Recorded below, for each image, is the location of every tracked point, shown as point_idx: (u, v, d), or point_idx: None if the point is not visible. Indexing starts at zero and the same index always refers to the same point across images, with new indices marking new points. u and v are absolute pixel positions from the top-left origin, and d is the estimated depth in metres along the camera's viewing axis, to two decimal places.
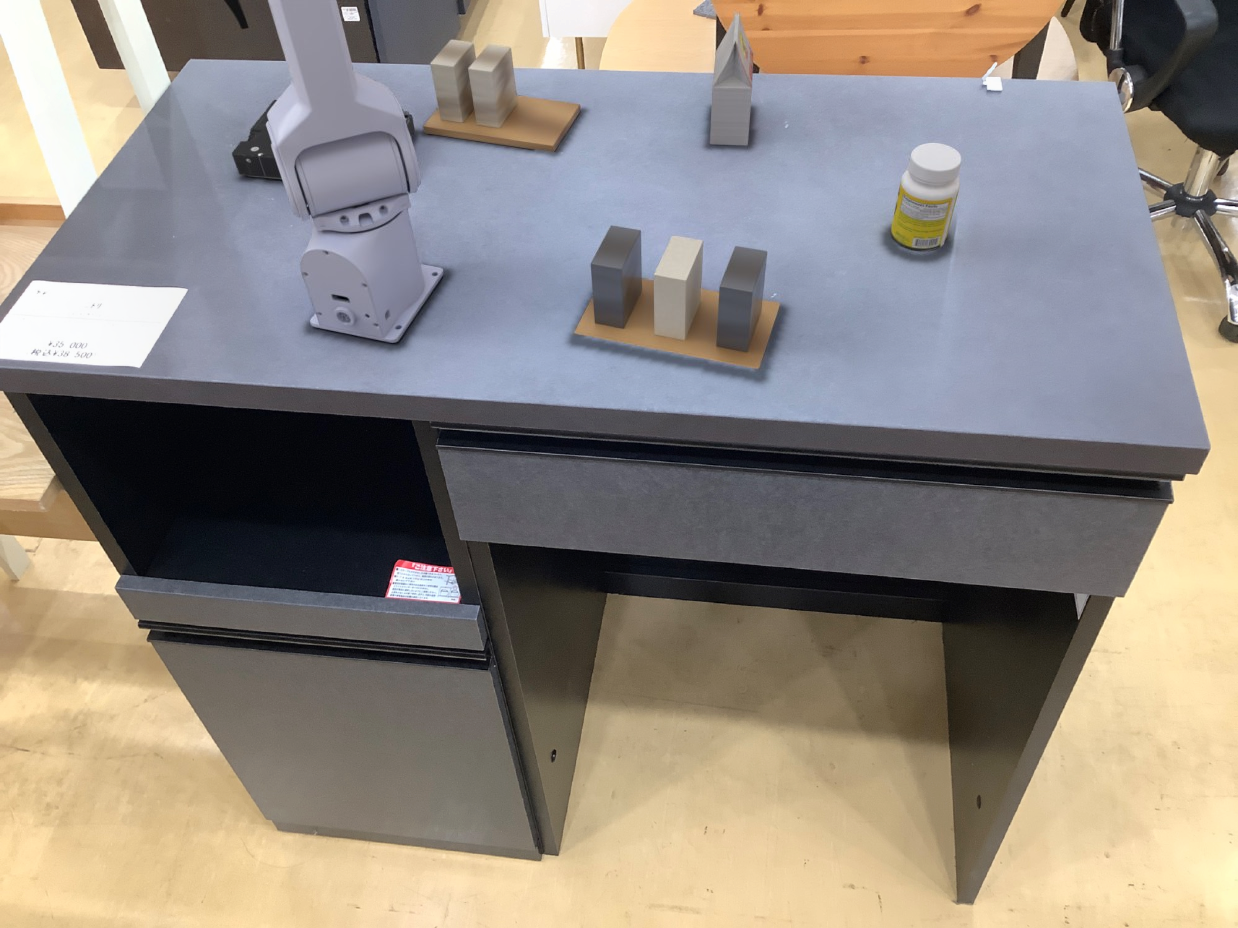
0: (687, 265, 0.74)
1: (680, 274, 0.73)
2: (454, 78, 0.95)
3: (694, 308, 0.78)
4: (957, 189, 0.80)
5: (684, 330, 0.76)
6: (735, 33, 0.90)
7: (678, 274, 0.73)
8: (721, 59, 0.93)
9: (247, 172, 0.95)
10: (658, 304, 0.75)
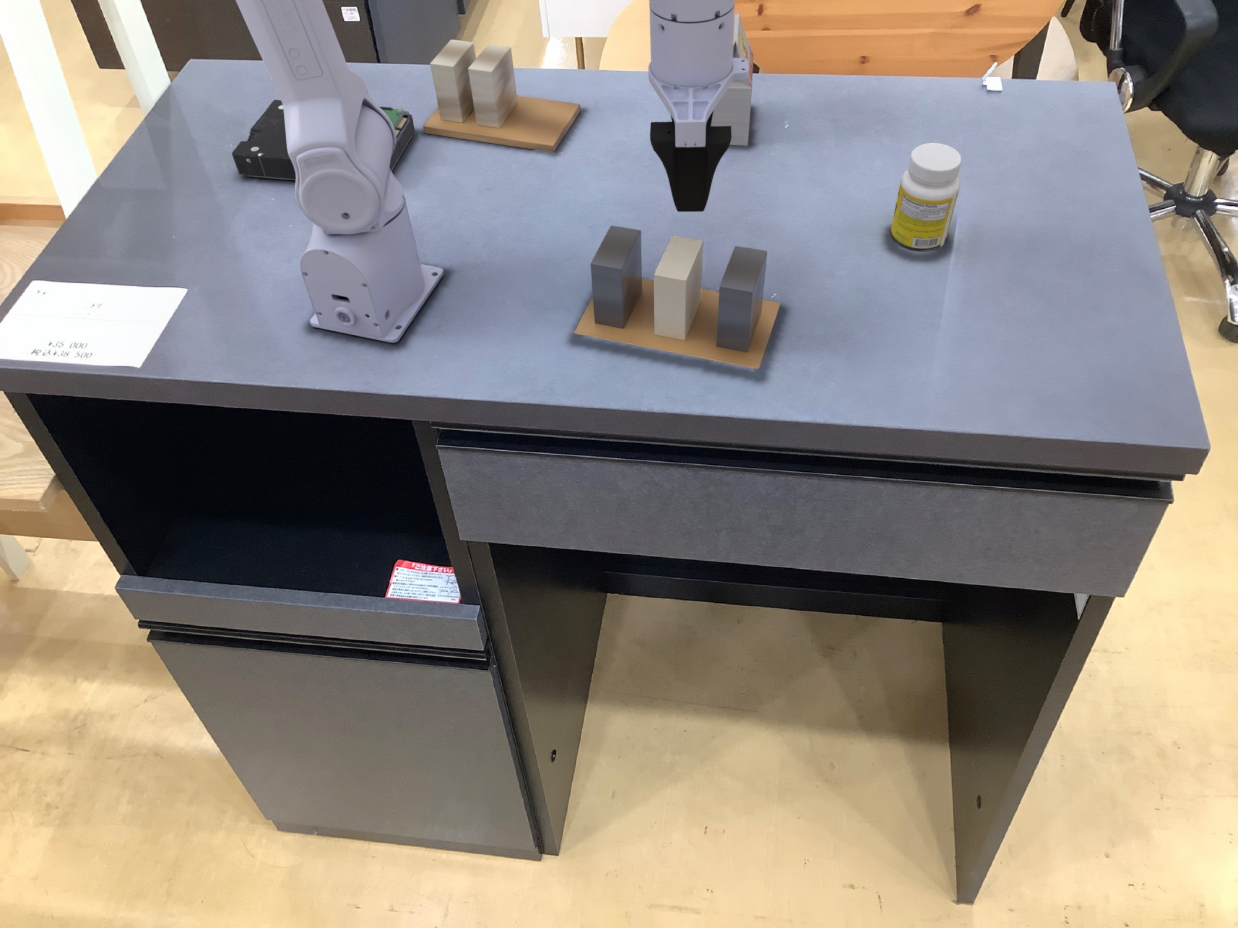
0: (687, 265, 0.74)
1: (680, 274, 0.73)
2: (454, 78, 0.95)
3: (694, 308, 0.78)
4: (957, 189, 0.80)
5: (684, 330, 0.76)
6: (735, 33, 0.90)
7: (678, 274, 0.73)
8: None
9: (247, 172, 0.95)
10: (658, 304, 0.75)
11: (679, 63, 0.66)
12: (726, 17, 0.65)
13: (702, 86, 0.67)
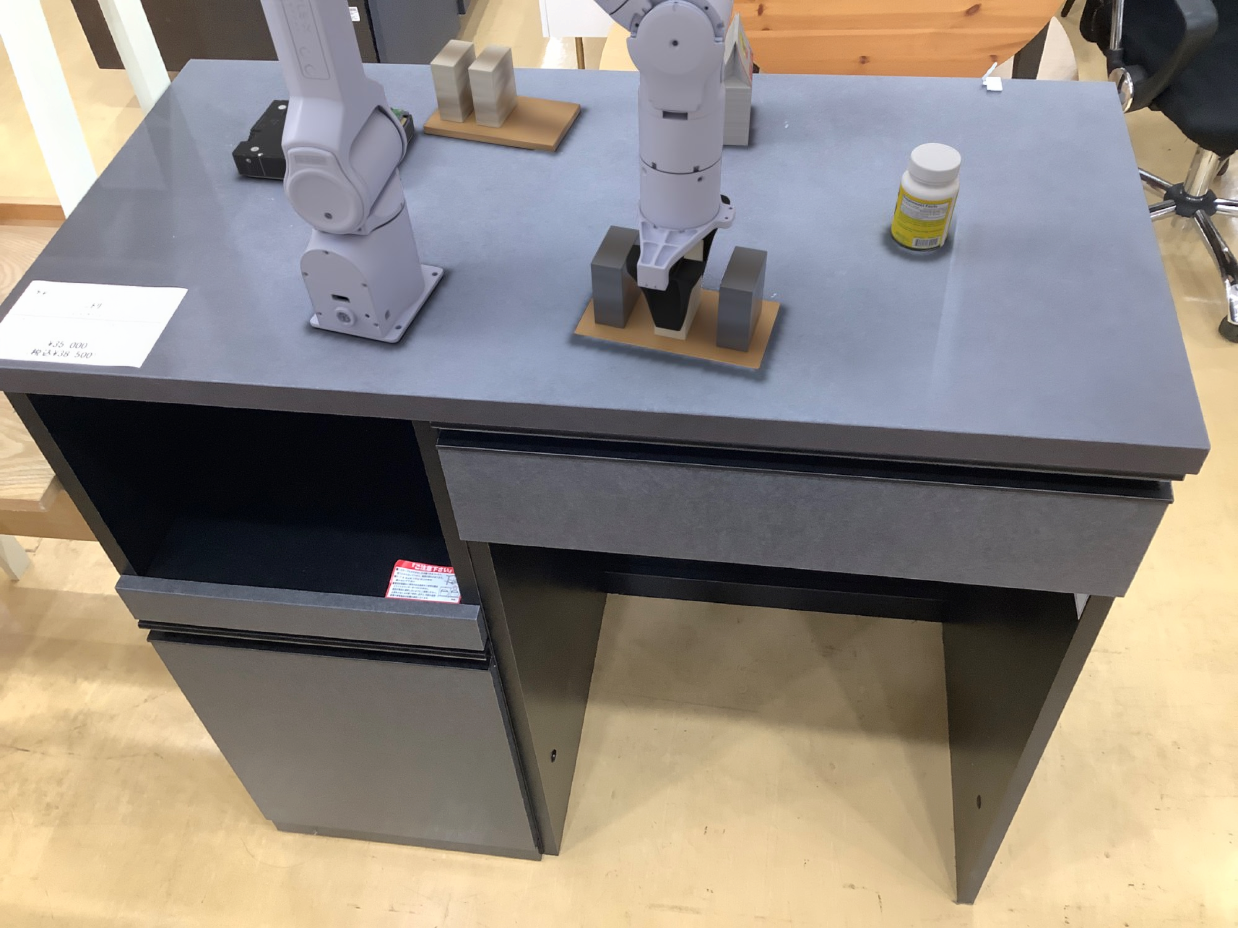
0: None
1: None
2: (454, 78, 0.95)
3: (694, 308, 0.78)
4: (957, 189, 0.80)
5: (684, 330, 0.76)
6: (735, 33, 0.90)
7: None
8: None
9: (247, 172, 0.95)
10: None
11: (658, 205, 0.68)
12: (706, 171, 0.66)
13: (679, 229, 0.69)
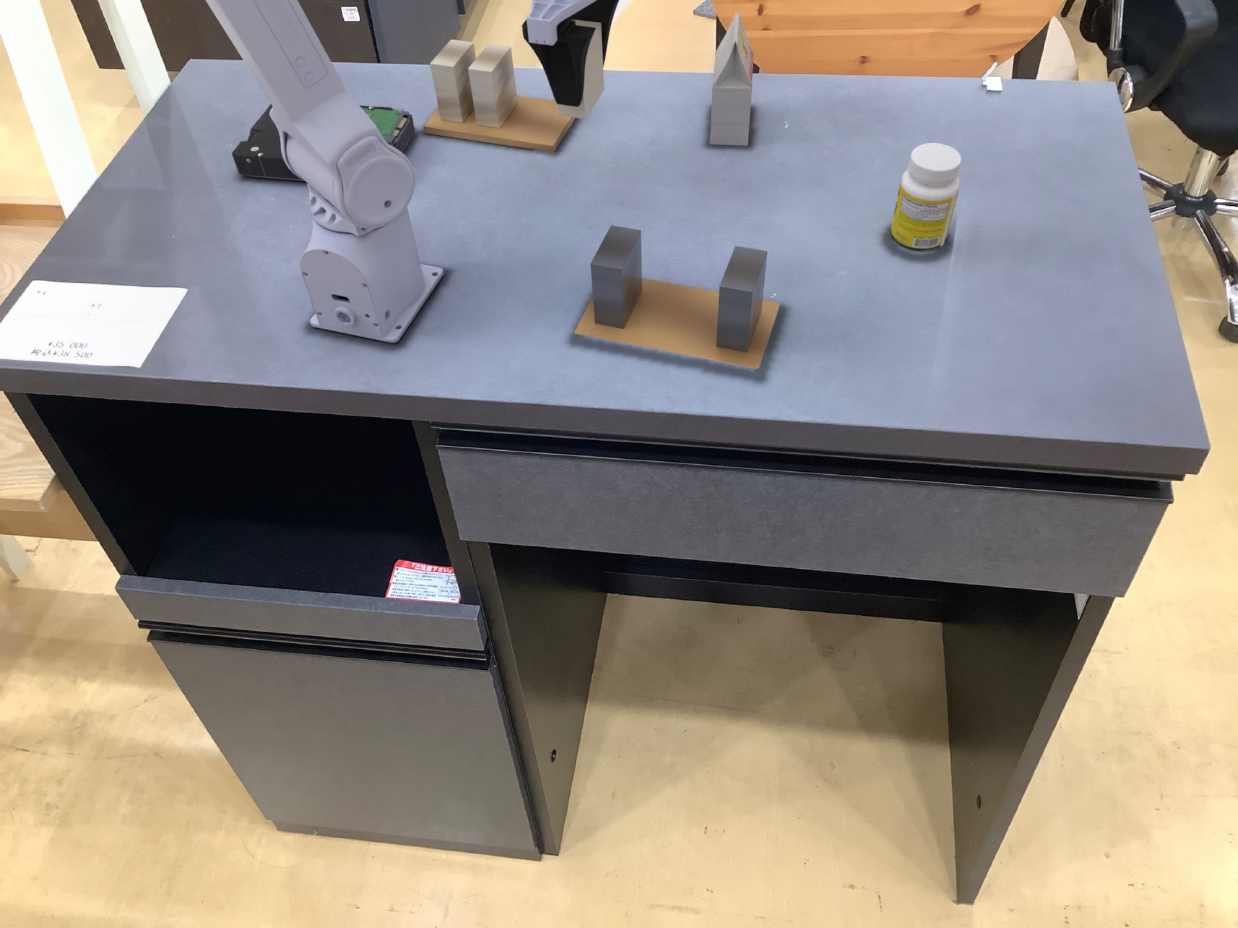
0: None
1: None
2: (454, 78, 0.95)
3: (595, 92, 0.85)
4: (957, 189, 0.80)
5: (584, 107, 0.83)
6: (735, 33, 0.90)
7: None
8: (721, 59, 0.93)
9: (247, 172, 0.95)
10: None
11: None
12: None
13: None
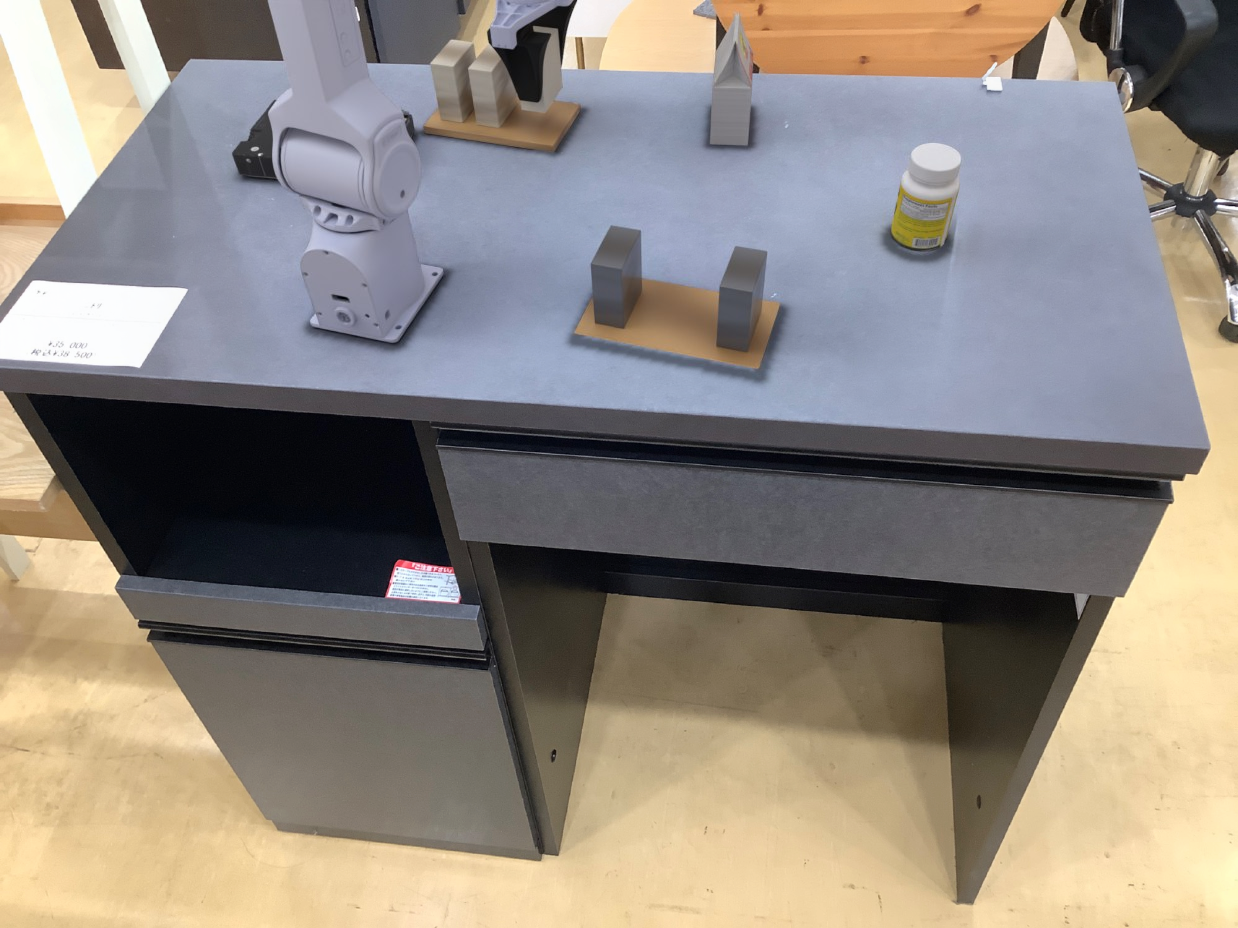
0: None
1: None
2: (454, 78, 0.95)
3: (554, 89, 0.96)
4: (957, 189, 0.80)
5: (543, 103, 0.94)
6: (735, 33, 0.90)
7: None
8: (721, 59, 0.93)
9: (247, 172, 0.95)
10: None
11: None
12: None
13: (527, 4, 0.87)
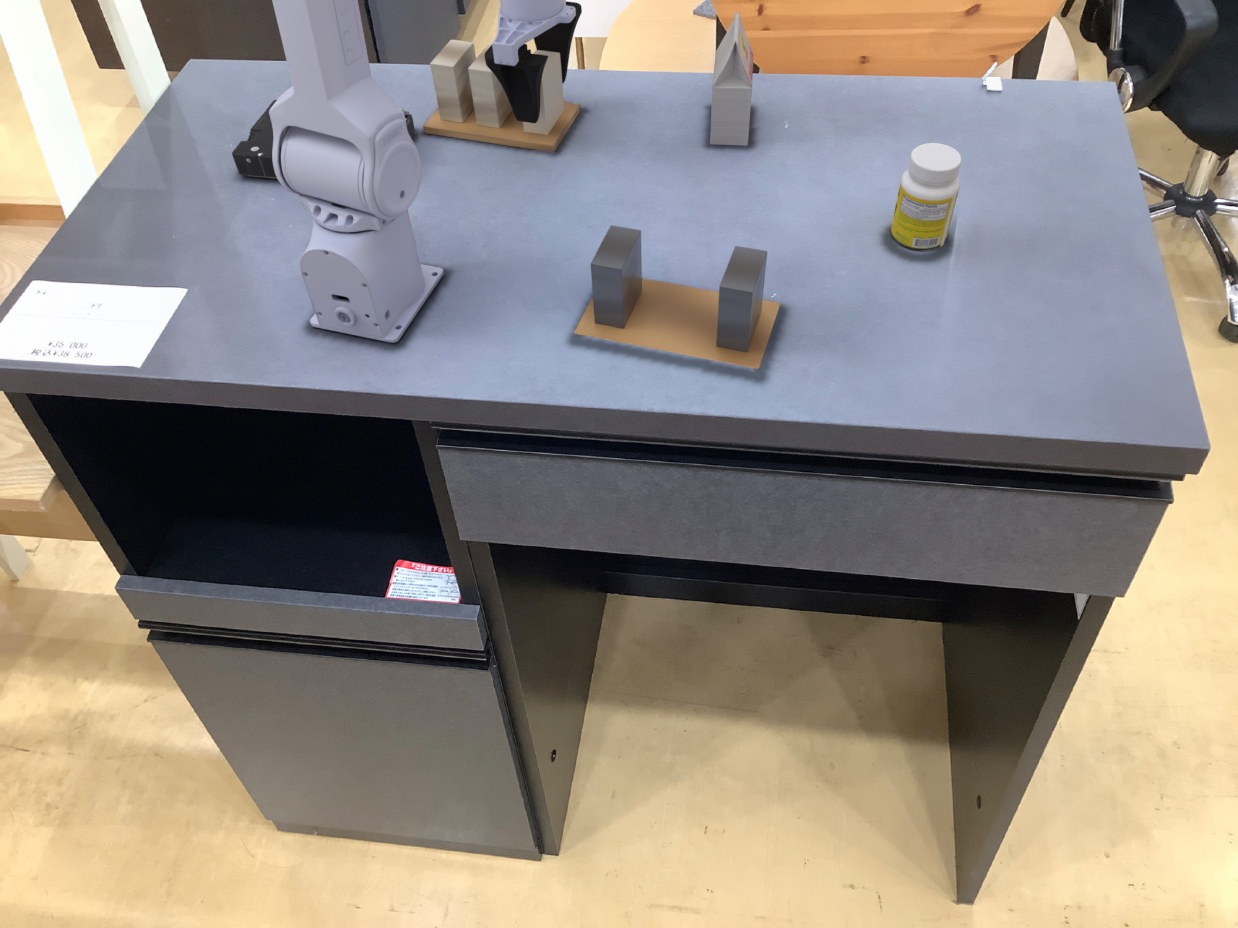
0: (544, 68, 0.94)
1: None
2: (454, 78, 0.95)
3: (556, 112, 0.98)
4: (957, 189, 0.80)
5: (546, 125, 0.96)
6: (735, 33, 0.90)
7: None
8: (721, 59, 0.93)
9: (247, 172, 0.95)
10: None
11: (510, 1, 0.87)
12: None
13: (528, 21, 0.88)
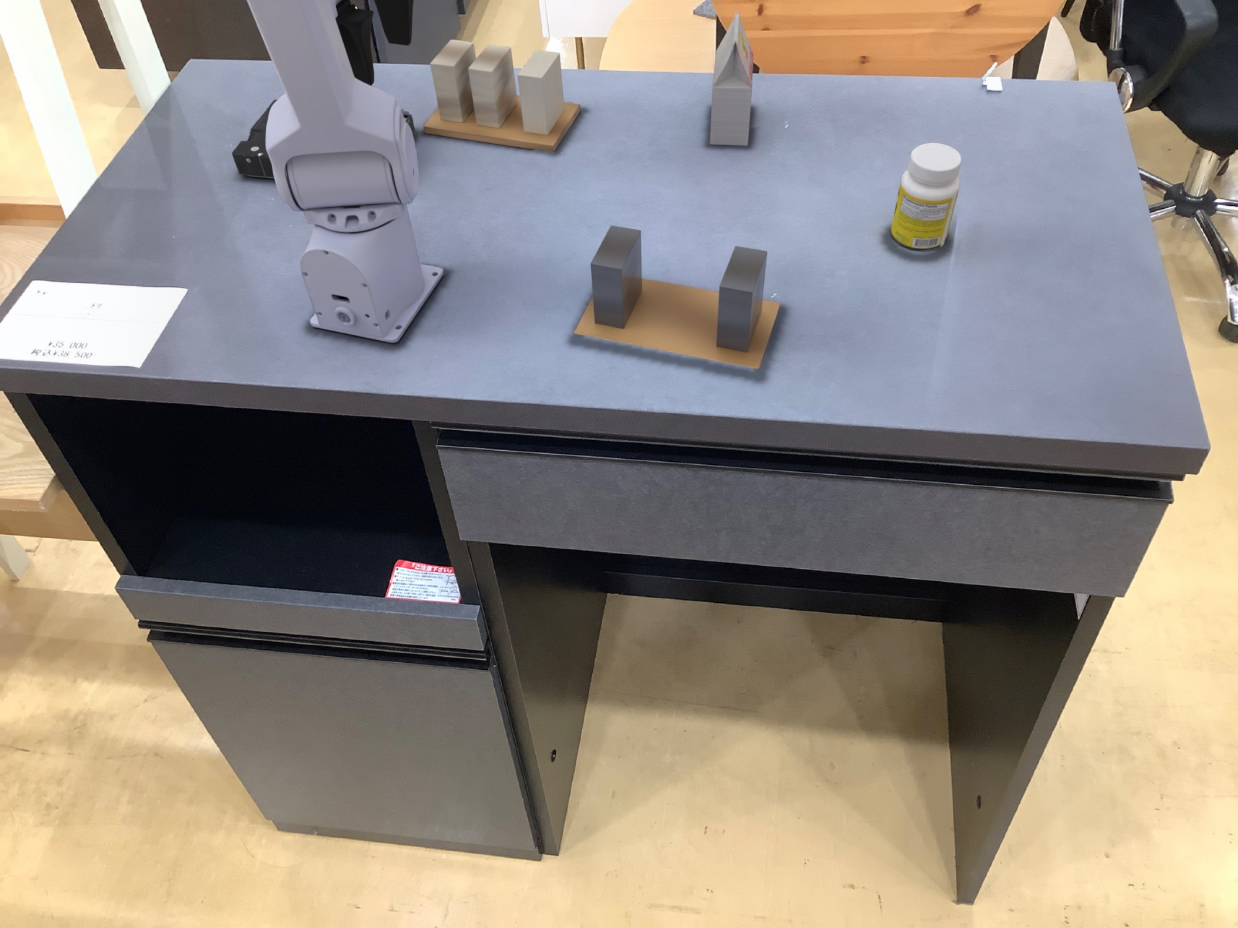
0: (544, 68, 0.94)
1: (537, 74, 0.93)
2: (454, 78, 0.95)
3: (556, 112, 0.98)
4: (957, 189, 0.80)
5: (546, 125, 0.96)
6: (735, 33, 0.90)
7: (536, 74, 0.93)
8: (721, 59, 0.93)
9: (247, 172, 0.95)
10: (523, 102, 0.95)
11: None
12: None
13: None
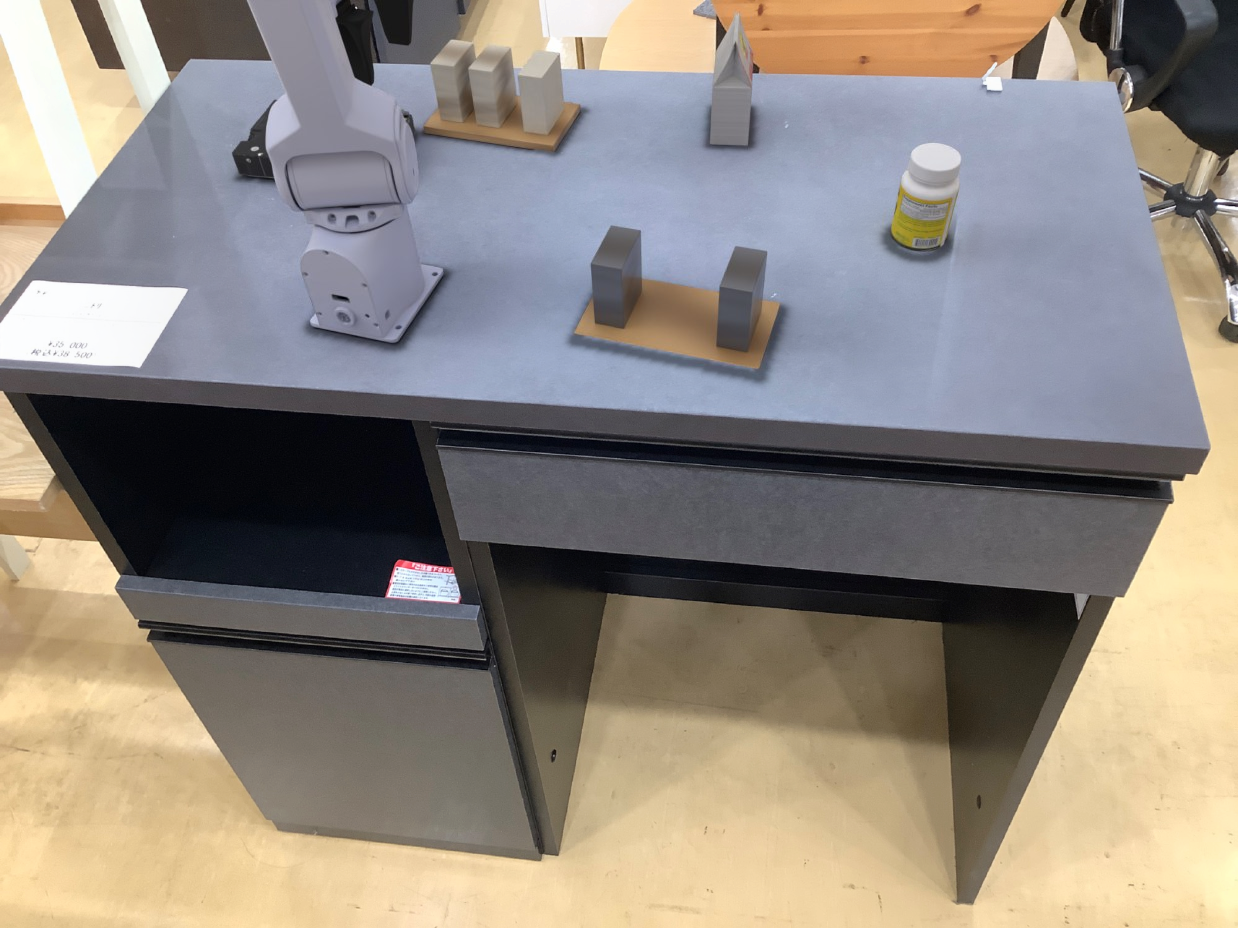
0: (544, 68, 0.94)
1: (537, 74, 0.93)
2: (454, 78, 0.95)
3: (556, 112, 0.98)
4: (957, 189, 0.80)
5: (546, 125, 0.96)
6: (735, 33, 0.90)
7: (536, 74, 0.93)
8: (721, 59, 0.93)
9: (247, 172, 0.95)
10: (523, 102, 0.95)
11: None
12: None
13: None
